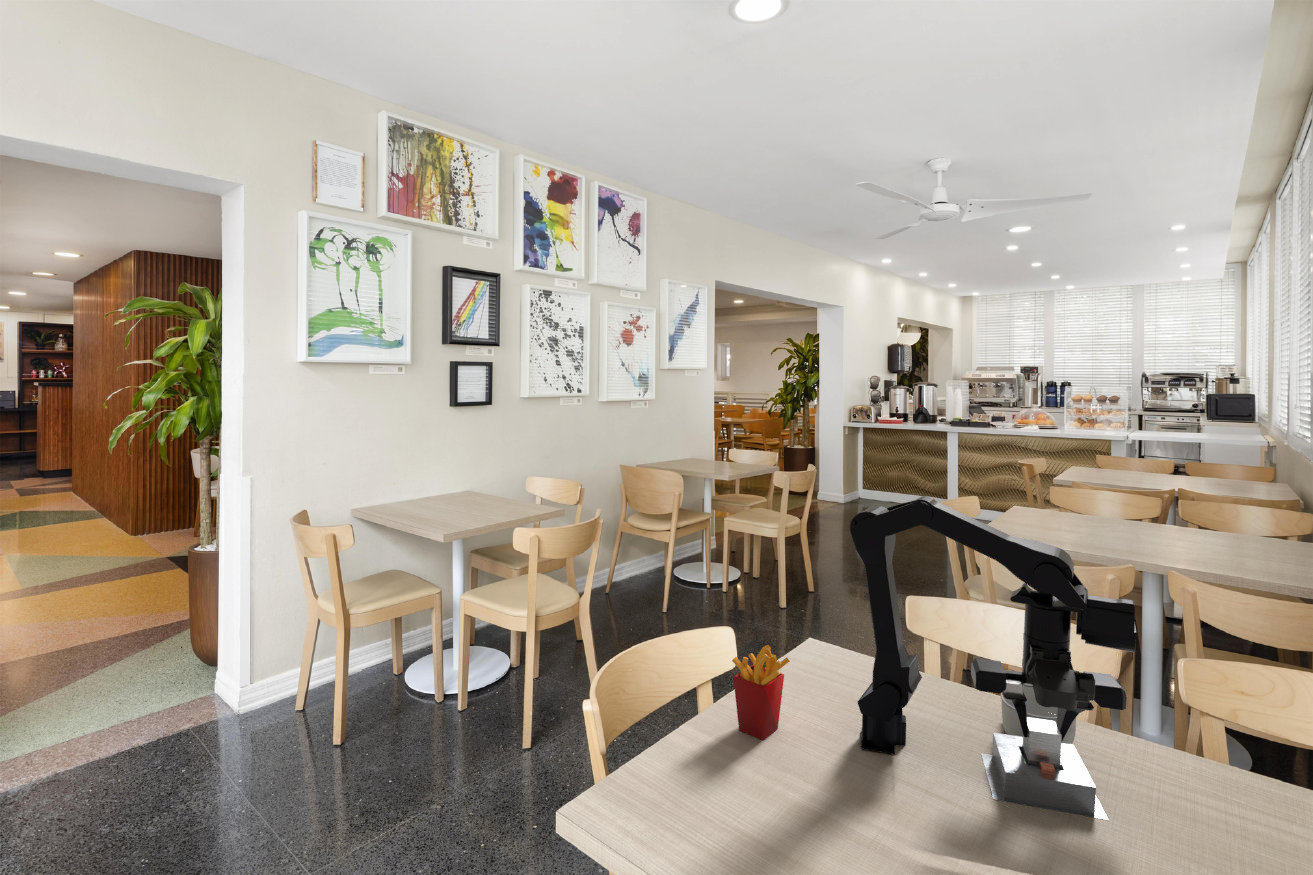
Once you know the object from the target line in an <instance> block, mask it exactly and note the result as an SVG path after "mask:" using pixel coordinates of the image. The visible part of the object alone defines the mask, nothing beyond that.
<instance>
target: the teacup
mask: <svg viewBox="0 0 1313 875" xmlns="http://www.w3.org/2000/svg"><path fill="white" fill-rule="evenodd" d="M1023 692H1024V694H1025V696H1026V699H1027V703H1026V712H1027V717H1029V718H1036V719H1043V720H1050V721H1055V723H1057V713H1058V708H1057V707H1049V708H1048V707H1043V706H1041V705H1039V704H1038V703H1037V702H1036V699H1035V693H1034V690H1033V687H1027V686H1024V688H1023ZM1000 699H1001V719H1002V727H1003V729H1004V731H1005V734H1007V735H1013V736H1020V737H1023V733H1022V730H1021V727H1020V723H1019V720H1018V717H1017V713H1016V710H1015V707H1014V704H1013V702H1012V700H1008V699H1005V698H1004V697H1003V695H1002V693H1000ZM1048 712H1049V713H1048ZM1051 713H1052V714H1051ZM1054 714H1056V715H1054ZM1076 729H1077V717H1076V718H1075V719H1074V721H1073V722H1072V724H1071V726H1070V728H1069V730H1068V731H1067V733H1066V735H1065V737H1064V739H1063V741H1062V742H1061V743H1066V744H1073V743H1074V741H1075V737H1076ZM1073 745H1074V744H1073Z"/></svg>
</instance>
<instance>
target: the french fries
mask: <svg viewBox="0 0 1313 875" xmlns="http://www.w3.org/2000/svg"><path fill="white" fill-rule="evenodd" d="M771 649H772V646H770V645H769V644H766V645H764V646H763V647H762V648H761V649H760V651H759V653H758V654H757V656H755V654H754V653H749V654H748V655H747V656H748V657H749V658H748V657H746V656H743V657H742V661H741V660H740V659H739V658H738V657H737V656H735V657H734V658H732V660H731V662H732V663H734V665H735V666H736V667H737V668H738V670H739V671H740V672H738V673H736V674H735V675H733V687H734V694H735V695H734V696H735V704H736V714H737V723H738V731H739V732H741V733H744V734H745V735H749V736H751V737H754V738H755V739H759V740H761V741H765V740H766V739H767V738H768V737H770V736H771V735H772V734H774V732H776V731H777V730H778V729H779V722H780V713H781V705H782V698H783V697H782V696H783V689H784V680H785V674H784V673H782V672H780V671H779V670H781V669H783V668H784V667H785V666H786V665H787V664H789V663H790V660H789V658H788V657H785V658H784V659H783V660H782V661H779V660H778V658H777V655H776V654H773V653H772V651H771ZM749 659H750V660H751V662H752V664H751V665H749ZM777 660H778V661H777ZM764 665H765V667H764Z"/></svg>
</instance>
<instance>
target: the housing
mask: <svg viewBox="0 0 1313 875" xmlns="http://www.w3.org/2000/svg"><path fill="white" fill-rule="evenodd" d="M1022 744H1023V737H1020V736H1013V735H1007V733H1005V734H1004V733H999V732H992V748H991V749H992V751H991V753H992V754H990V753H989V754H988V753H982V752H981V753H980V754H981V758H982V762H983V765H984V766H983V767H984V770H985V773H986V778H987V781H988V784H989V788H990V792H991V795H992V799H993V800H994V801H995V800H996V801H998V802H999V801H1001V802H1005V803H1011V804H1016V805H1022V806H1028V807H1034V808H1039V809H1044V810H1049V811H1056V812H1061V813H1067V814H1072V815H1078V816H1083V817H1088V818H1095V819H1100V820H1106V821H1109V818H1108V816H1107V814H1106V811H1104V808H1103V806H1102V804H1101V802H1100V800H1099V798H1098V797H1097V795H1096V794H1097V787H1096V784H1095V783H1094V781H1093V778H1092V777H1091V774H1090V773H1089V770H1088V769H1087V768H1086V766H1085V763H1084V762H1083V760H1082V758H1081V755H1080V754H1079V752H1078V750H1077V748H1076V746H1075V745H1074V744H1066V743H1061V758H1060V763H1061V767H1060V770H1056V769H1054V766H1053V764H1050V763H1043V762H1040V765H1039V767H1038V766H1032V765H1026V764H1025V763H1024V760H1023V757H1022V753H1023V748H1022Z"/></svg>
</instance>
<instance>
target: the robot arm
mask: <svg viewBox="0 0 1313 875" xmlns="http://www.w3.org/2000/svg"><path fill="white" fill-rule="evenodd" d="M919 526H923V527H926V528H928V529H930V530H932V531H934V532H935V533H938V534H940V535H942V536H944V537H946V538H948V539H950V540H952V541H954V542H956V543H959V544H961V545H963V546H965V547H967V548H969V549H971V550H973V551H975V552H978V553H980V554H981V555H984V556H986V557H987V558H990V559H992V560H994V561H996V562H997V563H999V564H1001V565H1002V566H1003V567H1004V568H1006V569H1007V570H1008V571H1009V572H1010V573H1011V574H1012V575H1013V576H1014V577H1015V578H1016V579H1019V580H1020V581H1021V582H1022V585H1021V586H1019V587H1018V588H1017V589H1015V590H1012V591H1013V592H1012V594H1011V595H1010V598H1009V600H1010V601H1011V602H1012V603H1018V604H1023V605H1024V604H1025V605H1024V624H1023V625H1024V626H1023V638H1022V640H1023V647H1022V660H1021V661H1022V663H1021V666H1022V668H1021V669H1022V670H1021V671H1017V670H1010V669H1009V670H1008V669H1004V667H1003V664H1002V662H1001V661H1000V660H994V659H993V660H992V659H985V658H977V657H975V659H973V661H972V662H971V665H970V676H971V678H972V682H973V685H974V688H975V690H977V691H979V692H985V693H993V694H998V695H999V694H1000V695H1001V693H1002V695H1003V697H1004V698H1005V699H1008V700H1012V702H1013V704H1014V707H1015V710H1016V713H1017V717H1018V720H1019V723H1020V727H1021V730H1022V733H1023V736H1024V737H1026V738H1027V733H1028V724H1027V712H1026V703H1027V699H1026V696H1025V694H1024V692H1023V688H1024V686H1027V687H1033V690H1034V693H1035V699H1036V702H1037V703H1038V704H1039V705H1041V706H1043V707H1048V708H1049V707H1057V708H1058V713H1057V723H1056V725H1057V727H1058V729H1059V731H1060V733H1061V735H1062V738H1061V742H1062V741H1063V739H1064V737H1065V735H1066V733H1067V731H1068V730H1069V728H1070V726H1071V724H1072V722H1073V721H1074V719H1075V718H1076V719H1077V717H1078V716H1079V714H1081V713H1082V712H1085V711H1094V708H1095V706H1094V705H1093V704H1092V702H1093V701H1094V702H1095V703H1096V704H1097V705H1098V706H1099V707H1100V708H1103V709H1111V710H1118V711H1119V710H1120V711H1124V710H1126V709H1127V693H1126V691H1125V689H1124V688H1123V687H1122V686H1121V684H1120V683H1119V681H1118V680H1117V679H1116V678H1115V677H1114V676H1113V675H1112V674H1111V673H1105V672H1104V673H1101V672H1095V671H1094V672H1093V671H1086V670H1084V671H1082V672H1080V671H1079V670H1074V667H1073V663H1072V656H1071V655H1072V652H1071V650H1070V648H1071V647H1070V646H1071V629H1072V628H1071V627H1072V626H1071V625H1072V613H1073V612H1074V613H1076V631H1075V634H1076V635H1078V636H1080V640H1081V641H1084V644H1087V645H1091V646H1096V647H1097V646H1099V647H1102V648H1108V649H1113V650H1118V651H1125V652H1130V653H1135V652H1136V642H1137V628H1136V621H1135V620H1136V616H1135V615H1136V613H1135V612H1136V604H1135V601H1134V600H1133V599H1126V598H1111V597H1110V598H1109V597H1105V596H1104V597H1102V596H1095V595H1089V590H1088V589H1087V588H1086V586H1085V585H1084V584H1083V582H1082V581H1081V580H1080V579H1079V577H1078V576H1077V574H1076V573H1075V565H1074V564H1075V563H1074V562H1073V560H1072V557H1071V556H1070V554H1069V553H1068V552H1067V551H1065V550H1064V549H1062V548H1060V547H1057V546H1055V545H1051V544H1049V543H1048V544H1047V543H1044V542H1040V541H1037V540H1034V539H1027V538H1022V537H1017V536H1014V535H1011V534H1008V533H1006V532H1004V531H1001V530H999V529H997V528H995V527H992V526H991V525H989V524H986V523H984V522H982V521H980V520H979V519H978V520H977V519H975V518H973V517H971V516H969V515H967V514H964V513H962V512H960V511H958V510H956V509H954V508H952V507H950V506H947V505H945V504H943V503H941V502H939V501H937V500H936V499H935V498H933V497H931V496H926V495H925V496H920V497H918V498H916V499H914V500H911V501H906V502H903V503H899V504H895V505H891V506H889V507H888V506H887V507H884V506H882V505H872V506H870V507H867V508H866V509H864V510H863V511H861V512H859V513H858V514H856V515H854V516H853V518H852V519H851V520H850V524H849V533H850V536H851V539H852V542H853V546H854V548H855V549H854V550H855V551H856V553H857V555H858V558H860V560H861V562H862V564H863V566H864V572H865V578H866V585H867V593H868V600H869V607H870V614H871V621H872V622H871V623H872V628H873V635H874V643H875V657H874V663H873V669H872V681H871V683H870V684H869V685H868V687H867V688H866V690H865V691H864V692H863V693H862V695H861V696H860V697H859V699H858V700H857V707H858V708H859V712H860V714H861V715H862V717H861V719H862V720H861V731H860V732H861V734H860V735H861V737H860V748H861V749H862V750H866V751H871V752H872V751H873V752H876V753H877V752H878V753H883V754H889V755H896V752H895V750H896V749H895V748H896V746H898V747H902V746H906V745H907V717H906V715H905V714H903V712H904V711H903V709H904V708H905V707H906V706H908V703H909V702H910V700H911V698H912V697H913V695H914V693H915V692H916V690H917V688H918V685H919V684H920V682H921V680H922V678H923V676H922V674H921V672H920V669H919V655H918V654H911V655H910V654H909V651H908V650H907V647H906V646H905V644H904V637H903V629H902V628H903V627H902V622H901V615H900V608H899V603H898V593H897V587H896V579H895V572H894V564H893V558H894V552H895V546H896V540H897V539H896V536H897V535H896V534H898V533H901V532H903V531H906V530H907V531H908V530H910V529H912V528H915V527H919Z"/></svg>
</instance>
